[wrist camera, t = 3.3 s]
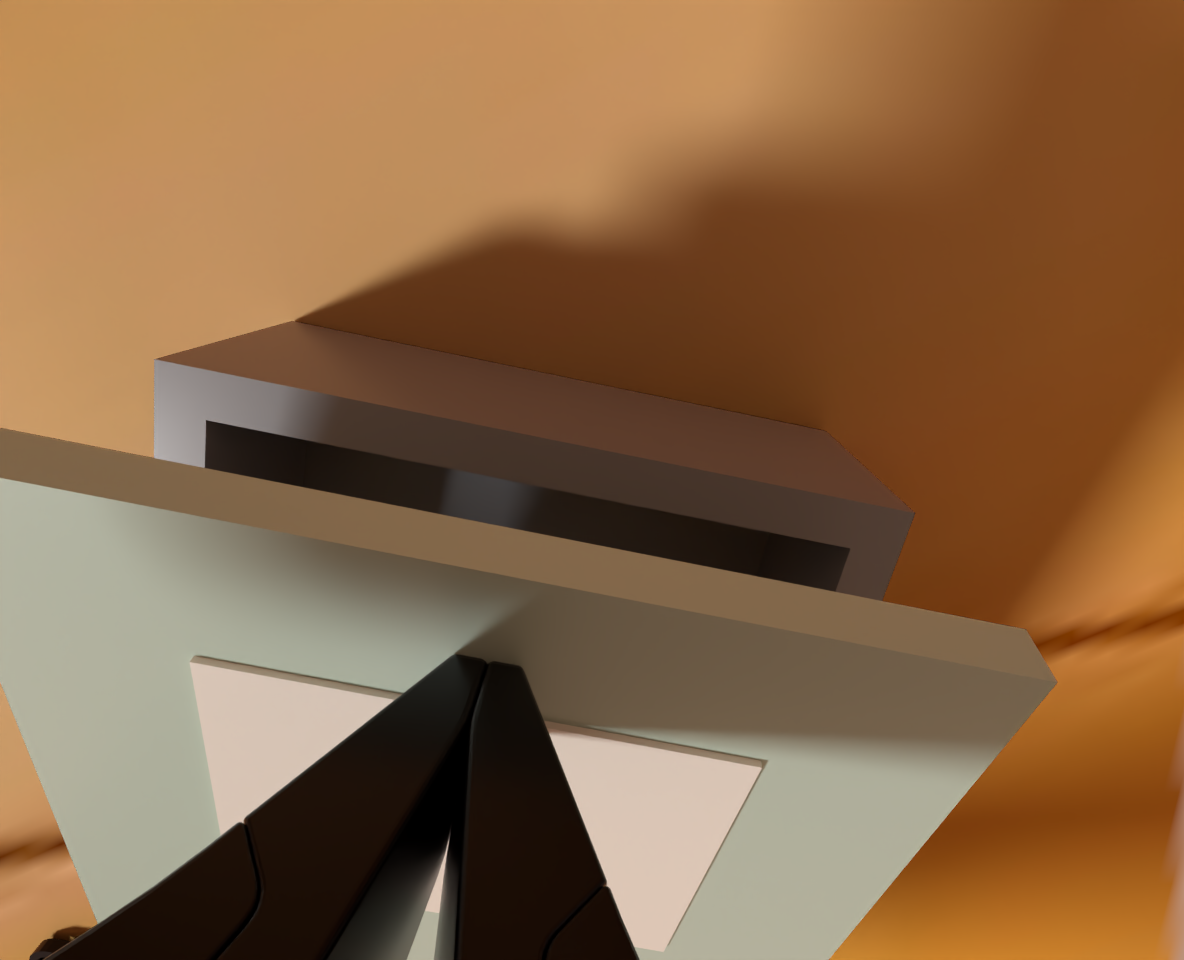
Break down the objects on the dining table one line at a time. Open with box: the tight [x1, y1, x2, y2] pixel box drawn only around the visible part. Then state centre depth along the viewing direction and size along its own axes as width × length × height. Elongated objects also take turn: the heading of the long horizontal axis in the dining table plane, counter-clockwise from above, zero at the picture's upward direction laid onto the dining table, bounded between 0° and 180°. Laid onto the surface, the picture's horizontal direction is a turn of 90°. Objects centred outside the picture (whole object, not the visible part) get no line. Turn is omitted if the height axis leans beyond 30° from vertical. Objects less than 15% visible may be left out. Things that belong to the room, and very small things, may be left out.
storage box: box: [154, 321, 915, 601], centre depth 15 cm, size 12×12×5 cm
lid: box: [0, 428, 1057, 960], centre depth 11 cm, size 12×12×1 cm
